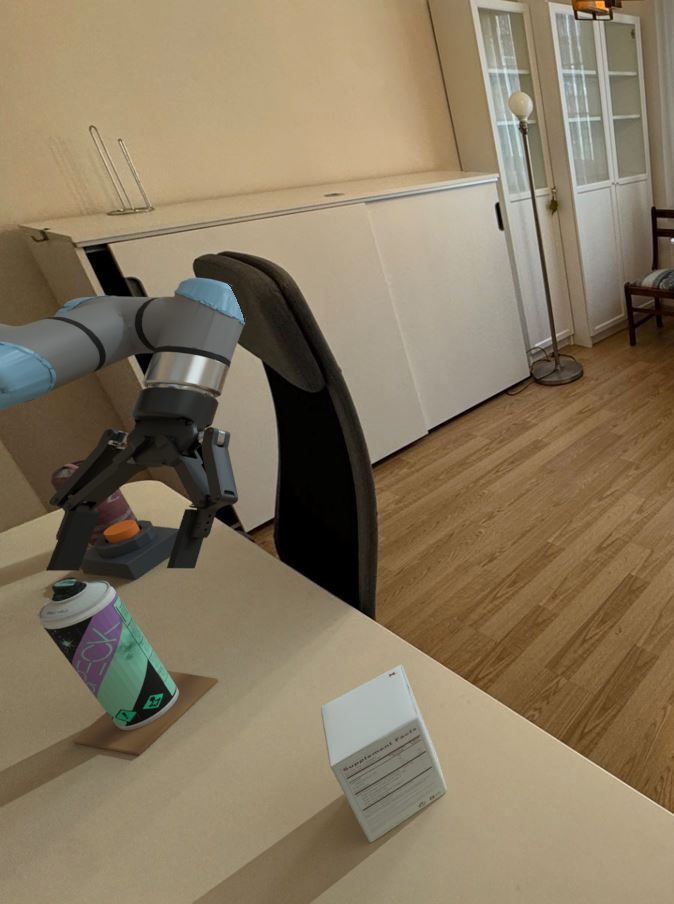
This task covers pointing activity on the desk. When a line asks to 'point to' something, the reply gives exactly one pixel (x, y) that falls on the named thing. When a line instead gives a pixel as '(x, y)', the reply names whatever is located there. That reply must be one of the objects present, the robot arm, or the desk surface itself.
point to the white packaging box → (382, 752)
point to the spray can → (108, 651)
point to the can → (109, 510)
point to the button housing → (130, 552)
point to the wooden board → (141, 738)
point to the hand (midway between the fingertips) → (121, 569)
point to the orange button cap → (121, 531)
